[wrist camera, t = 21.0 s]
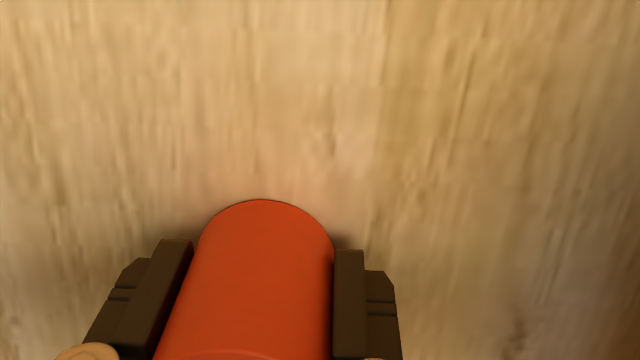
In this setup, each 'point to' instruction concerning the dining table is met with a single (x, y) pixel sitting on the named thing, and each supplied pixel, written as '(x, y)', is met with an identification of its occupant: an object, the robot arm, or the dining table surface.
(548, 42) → the dining table surface
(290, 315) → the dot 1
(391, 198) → the dining table surface
